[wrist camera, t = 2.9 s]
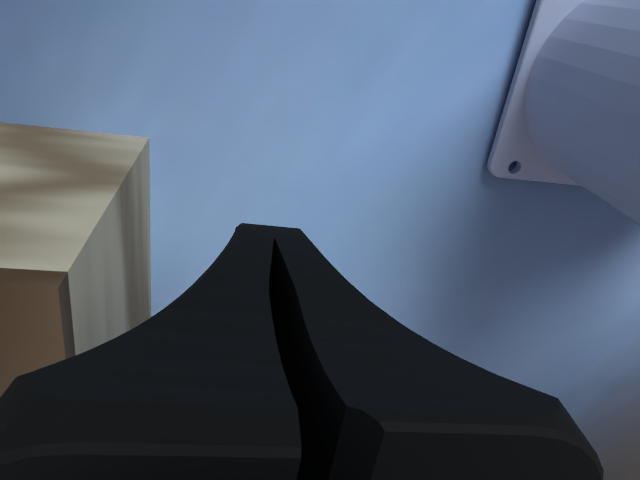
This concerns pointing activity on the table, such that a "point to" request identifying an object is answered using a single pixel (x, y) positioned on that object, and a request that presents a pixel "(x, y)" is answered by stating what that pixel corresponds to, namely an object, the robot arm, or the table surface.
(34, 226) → the ash block
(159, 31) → the table surface
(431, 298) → the table surface
